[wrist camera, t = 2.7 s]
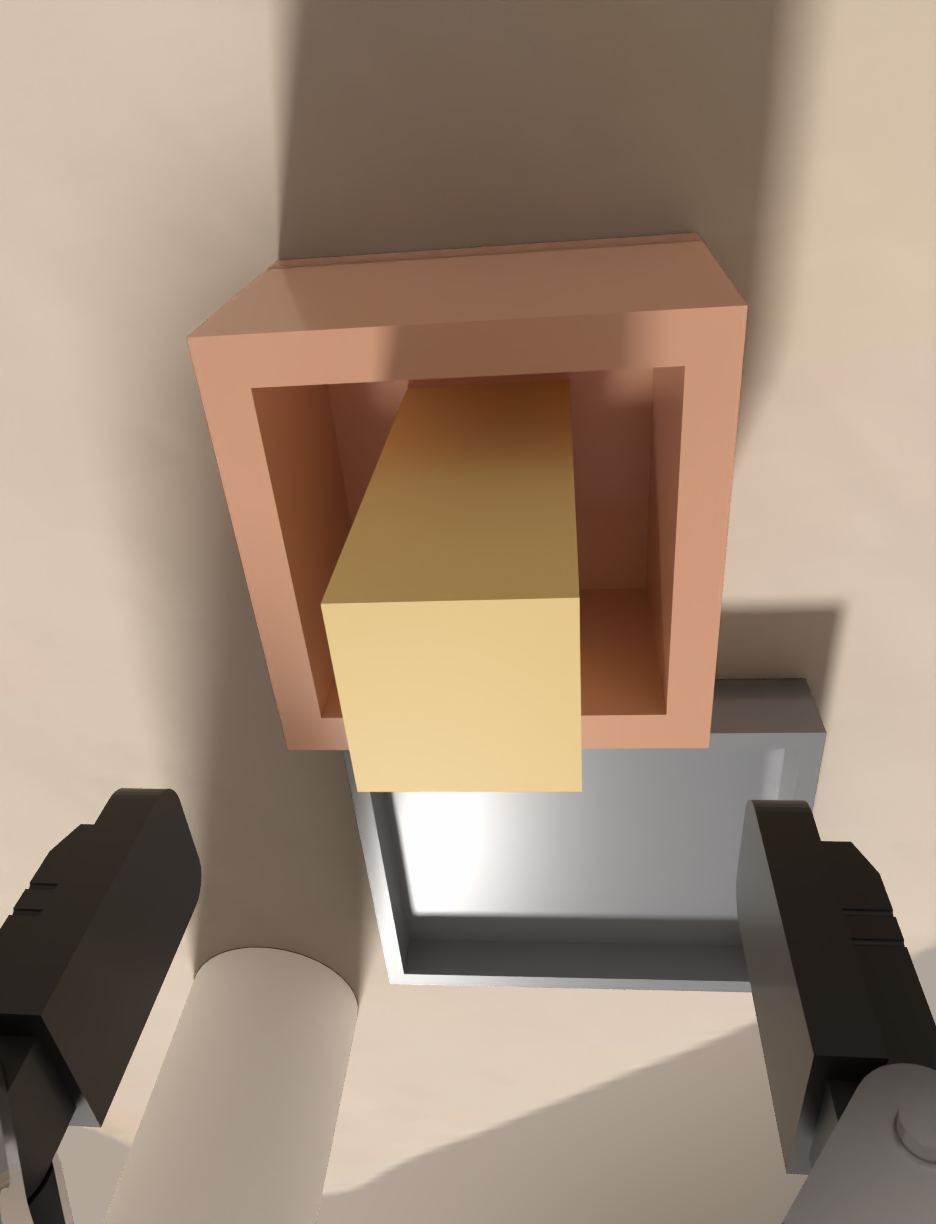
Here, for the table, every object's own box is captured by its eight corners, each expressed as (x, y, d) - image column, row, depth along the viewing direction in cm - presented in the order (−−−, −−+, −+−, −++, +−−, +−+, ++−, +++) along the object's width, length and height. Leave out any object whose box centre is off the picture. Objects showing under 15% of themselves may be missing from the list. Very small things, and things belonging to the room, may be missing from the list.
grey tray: (399, 927, 35) (389, 983, 33) (355, 685, 29) (339, 736, 27) (765, 933, 34) (779, 992, 32) (805, 678, 27) (826, 732, 25)
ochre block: (424, 530, 24) (357, 791, 16) (407, 388, 22) (320, 604, 14) (571, 526, 24) (581, 791, 16) (569, 380, 22) (579, 598, 14)
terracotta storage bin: (340, 606, 27) (288, 750, 22) (277, 260, 22) (186, 337, 16) (676, 598, 26) (708, 747, 21) (696, 232, 21) (748, 305, 15)
